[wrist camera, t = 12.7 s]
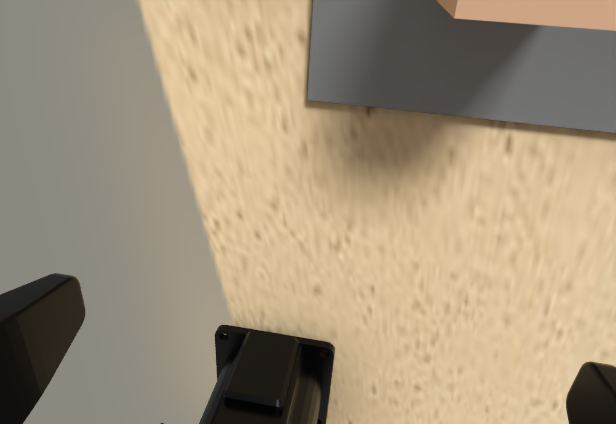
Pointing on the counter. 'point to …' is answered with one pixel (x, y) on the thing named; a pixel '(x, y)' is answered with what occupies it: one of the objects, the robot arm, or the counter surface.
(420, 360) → the counter surface
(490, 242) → the counter surface
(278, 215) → the counter surface
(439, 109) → the mat
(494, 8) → the block
